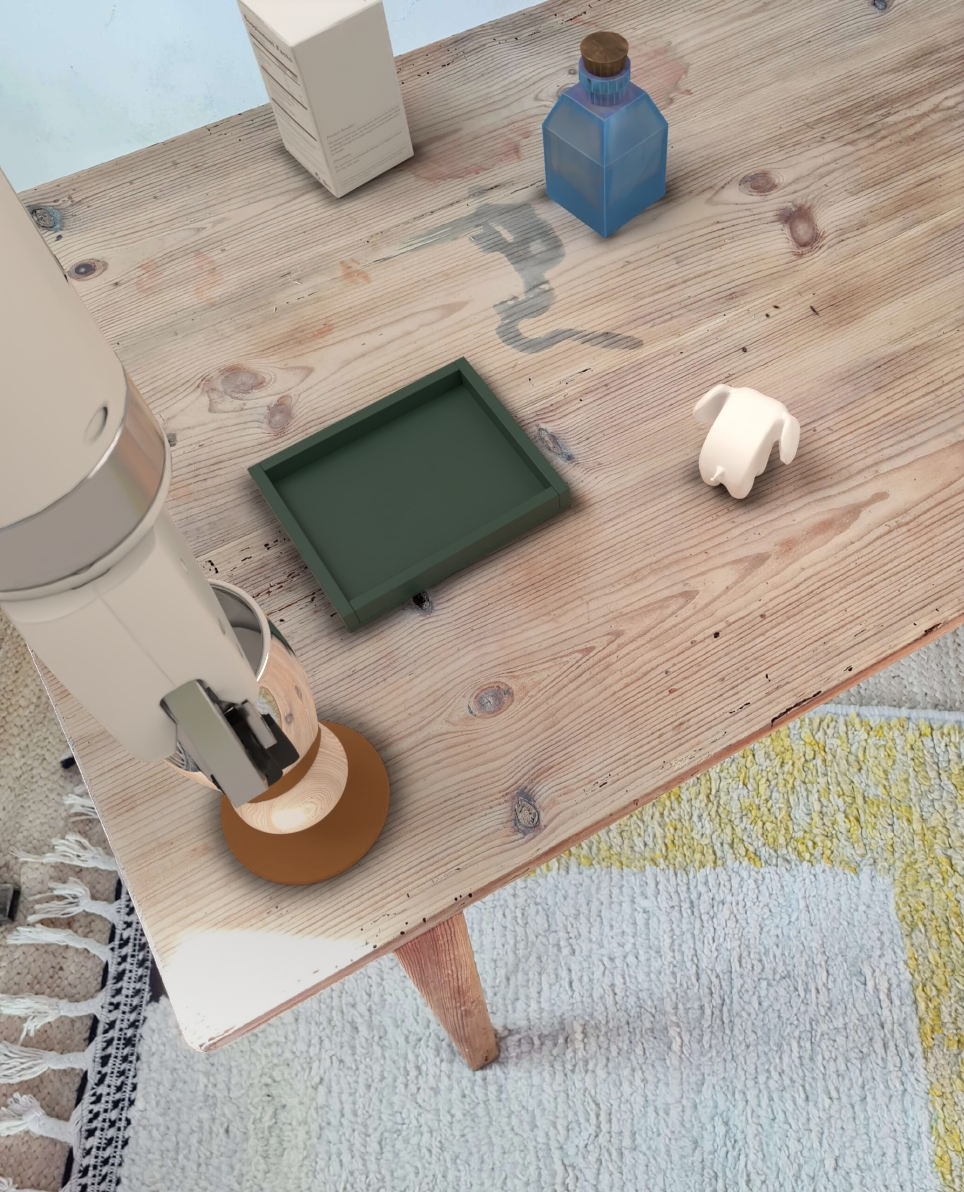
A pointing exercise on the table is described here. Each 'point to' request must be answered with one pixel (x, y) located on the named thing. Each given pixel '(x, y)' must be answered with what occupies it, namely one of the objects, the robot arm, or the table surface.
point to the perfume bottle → (605, 140)
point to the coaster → (320, 824)
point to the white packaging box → (331, 86)
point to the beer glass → (290, 702)
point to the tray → (408, 491)
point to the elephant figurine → (742, 436)
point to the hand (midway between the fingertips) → (223, 700)
